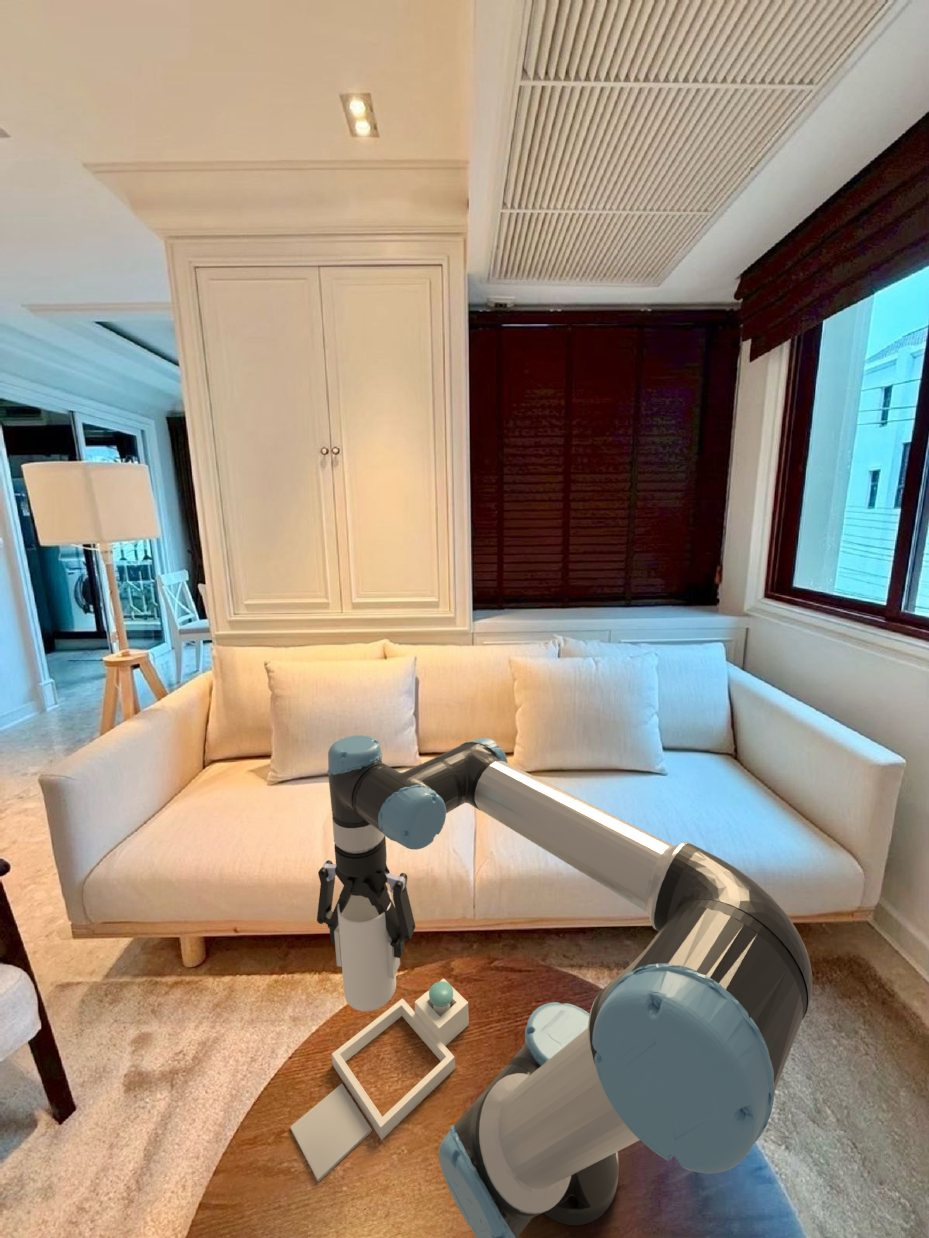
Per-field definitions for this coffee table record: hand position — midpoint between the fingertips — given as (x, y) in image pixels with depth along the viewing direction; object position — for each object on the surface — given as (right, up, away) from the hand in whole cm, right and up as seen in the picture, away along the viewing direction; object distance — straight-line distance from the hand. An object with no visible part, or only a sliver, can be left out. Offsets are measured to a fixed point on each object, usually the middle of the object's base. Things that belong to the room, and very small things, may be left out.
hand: (368, 964), depth 83 cm
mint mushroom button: (+11, -18, +14) cm, 25 cm away
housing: (+6, -22, +9) cm, 24 cm away
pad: (-5, -24, -2) cm, 25 cm away
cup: (0, -4, +1) cm, 4 cm away
